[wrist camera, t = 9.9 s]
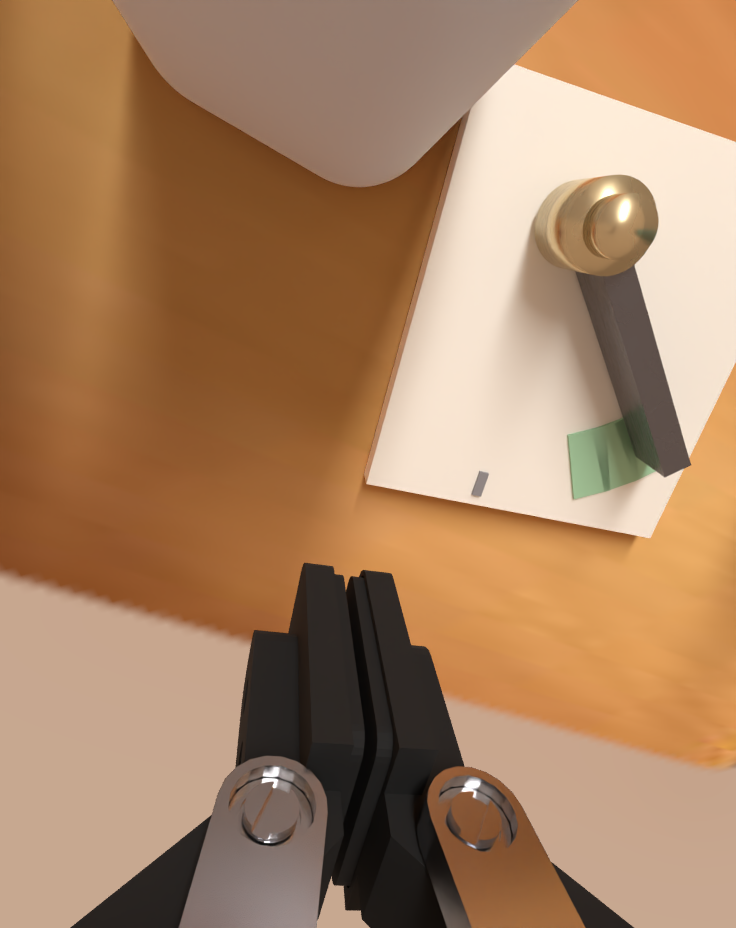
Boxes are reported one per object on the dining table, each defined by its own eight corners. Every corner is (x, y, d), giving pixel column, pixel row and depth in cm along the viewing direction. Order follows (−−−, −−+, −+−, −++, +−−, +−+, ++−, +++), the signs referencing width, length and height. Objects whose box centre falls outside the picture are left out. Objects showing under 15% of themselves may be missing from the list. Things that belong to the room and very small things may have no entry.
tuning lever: (522, 204, 31) (566, 203, 26) (601, 162, 30) (662, 152, 25) (613, 465, 37) (662, 504, 32) (678, 433, 37) (739, 468, 32)
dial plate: (477, 62, 30) (487, 53, 28) (805, 175, 33) (829, 173, 32) (363, 474, 38) (366, 485, 36) (638, 527, 42) (651, 539, 40)
